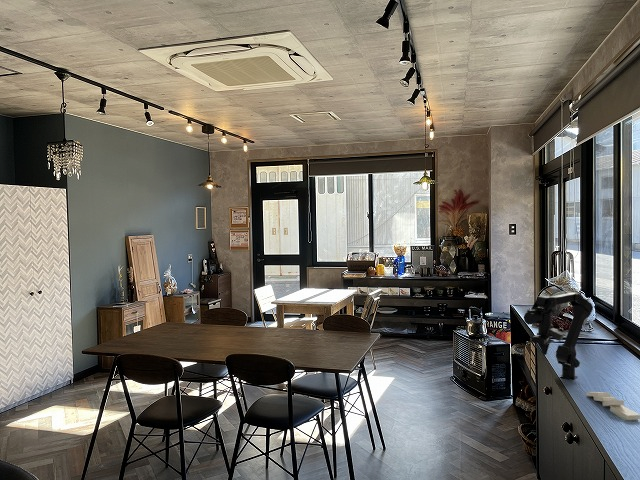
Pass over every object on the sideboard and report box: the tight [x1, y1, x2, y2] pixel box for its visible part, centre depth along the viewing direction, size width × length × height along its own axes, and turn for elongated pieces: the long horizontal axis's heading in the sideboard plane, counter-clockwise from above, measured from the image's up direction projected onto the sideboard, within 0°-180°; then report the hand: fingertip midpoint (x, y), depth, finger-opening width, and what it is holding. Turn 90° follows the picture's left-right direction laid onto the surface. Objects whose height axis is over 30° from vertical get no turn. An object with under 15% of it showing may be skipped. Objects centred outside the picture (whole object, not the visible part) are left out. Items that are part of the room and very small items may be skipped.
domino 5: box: [609, 409, 639, 421], centre depth 198 cm, size 2×5×10 cm
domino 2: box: [593, 396, 618, 402], centre depth 210 cm, size 2×5×10 cm
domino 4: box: [609, 405, 640, 421], centre depth 197 cm, size 2×5×10 cm
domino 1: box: [586, 391, 611, 398], centre depth 215 cm, size 2×5×10 cm
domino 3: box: [601, 400, 625, 407], centre depth 203 cm, size 2×5×10 cm
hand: (544, 354), depth 239 cm, fingers closed
